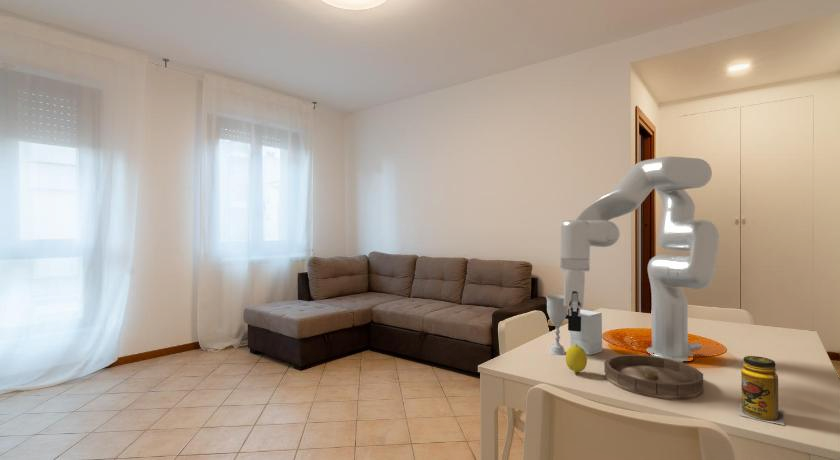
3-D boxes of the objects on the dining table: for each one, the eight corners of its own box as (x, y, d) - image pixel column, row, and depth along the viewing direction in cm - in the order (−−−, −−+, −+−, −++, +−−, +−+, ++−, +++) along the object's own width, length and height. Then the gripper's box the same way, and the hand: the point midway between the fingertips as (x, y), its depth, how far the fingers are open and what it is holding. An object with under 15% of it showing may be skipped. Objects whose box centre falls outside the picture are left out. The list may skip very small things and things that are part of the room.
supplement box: (603, 351, 130) (602, 312, 130) (589, 355, 126) (589, 315, 126) (582, 346, 136) (582, 308, 136) (569, 350, 132) (568, 311, 132)
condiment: (738, 415, 86) (738, 359, 85) (739, 402, 92) (739, 350, 92) (784, 426, 81) (784, 367, 81) (782, 411, 87) (782, 356, 87)
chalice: (569, 350, 131) (568, 295, 131) (569, 356, 125) (569, 299, 125) (545, 348, 134) (545, 294, 134) (545, 354, 127) (544, 298, 127)
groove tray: (657, 364, 117) (657, 352, 117) (726, 395, 95) (726, 381, 95) (588, 369, 114) (588, 357, 114) (643, 402, 92) (643, 387, 92)
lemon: (588, 377, 108) (588, 347, 108) (567, 376, 109) (567, 346, 109) (584, 370, 113) (584, 342, 113) (564, 369, 114) (564, 341, 114)
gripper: (561, 262, 120) (560, 319, 120) (559, 266, 104) (559, 332, 104) (588, 263, 118) (587, 321, 117) (591, 268, 101) (590, 335, 101)
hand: (574, 326), depth 111 cm, fingers open, 9 cm apart
